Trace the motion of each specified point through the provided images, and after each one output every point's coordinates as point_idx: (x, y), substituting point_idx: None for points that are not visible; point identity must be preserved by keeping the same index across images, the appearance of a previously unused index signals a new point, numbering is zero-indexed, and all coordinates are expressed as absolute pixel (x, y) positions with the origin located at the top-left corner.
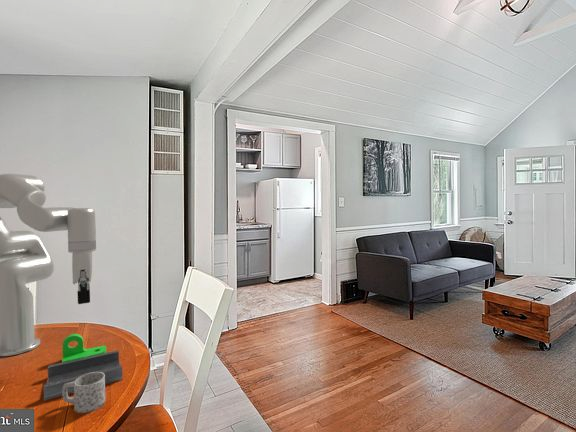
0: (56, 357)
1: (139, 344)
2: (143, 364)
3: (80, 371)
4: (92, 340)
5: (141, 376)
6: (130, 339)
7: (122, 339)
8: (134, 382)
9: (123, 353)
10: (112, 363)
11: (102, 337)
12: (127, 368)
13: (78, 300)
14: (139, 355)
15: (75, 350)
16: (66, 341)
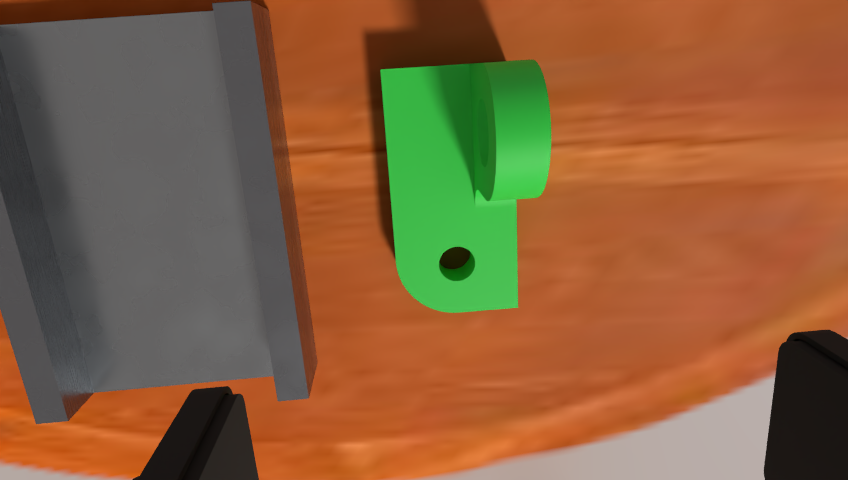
0: (563, 12)
1: (490, 459)
2: None
3: (215, 188)
4: (727, 209)
5: (77, 462)
6: (598, 416)
7: (626, 376)
8: (24, 433)
9: (406, 384)
10: (249, 345)
11: (740, 265)
12: None
13: (176, 434)
14: (335, 457)
15: (477, 142)
16: (488, 92)
